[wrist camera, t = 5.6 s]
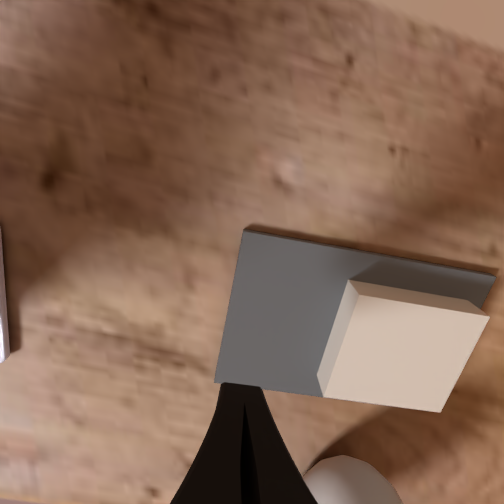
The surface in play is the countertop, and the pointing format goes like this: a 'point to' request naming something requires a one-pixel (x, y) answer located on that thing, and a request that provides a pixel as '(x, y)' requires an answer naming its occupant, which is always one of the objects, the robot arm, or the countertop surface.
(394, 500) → the donut
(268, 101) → the countertop surface
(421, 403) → the tile
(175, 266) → the countertop surface
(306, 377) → the mat
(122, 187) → the countertop surface
